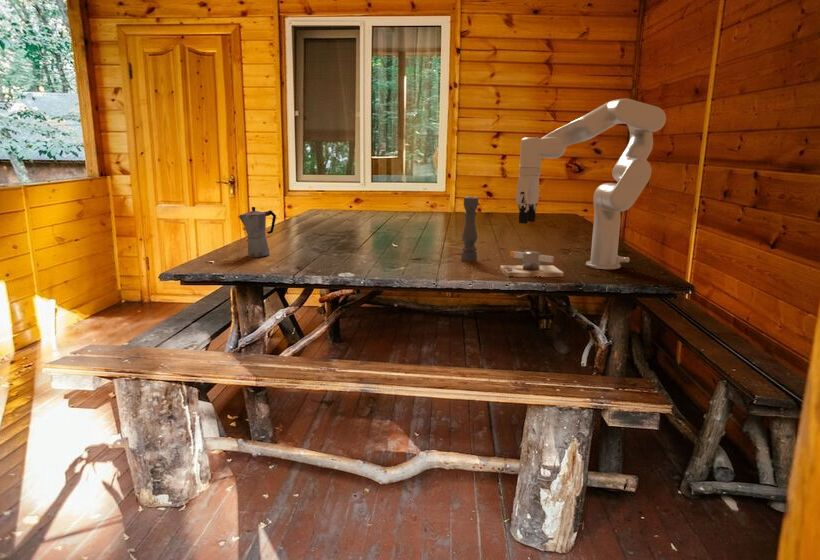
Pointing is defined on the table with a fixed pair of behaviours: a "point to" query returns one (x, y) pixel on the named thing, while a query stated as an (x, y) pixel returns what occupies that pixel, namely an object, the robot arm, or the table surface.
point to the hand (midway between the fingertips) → (526, 221)
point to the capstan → (531, 259)
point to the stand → (531, 271)
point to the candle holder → (469, 230)
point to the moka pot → (257, 231)
